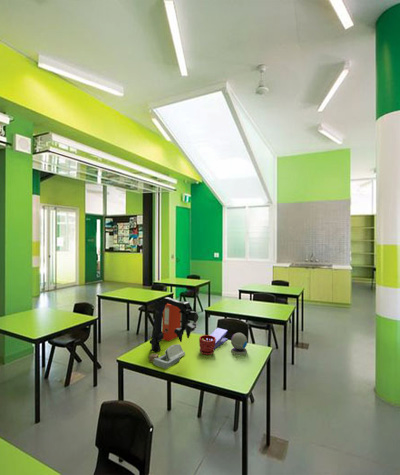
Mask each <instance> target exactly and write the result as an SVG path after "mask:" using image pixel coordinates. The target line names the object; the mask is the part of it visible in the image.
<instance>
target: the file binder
mask: <svg viewBox="0 0 400 475" xmlns="http://www.w3.org/2000/svg"><path fill="white" fill-rule="evenodd" d="M179 311H180V309H179V308H178V307H176V306H173V305H170V304H168V303H167V304H166V305H165V309H164V311H163V313H162V327H161V331H162V333H164V335H163V336H164V338H163V339H162V340H163V341H168V342H171V341H172V340H174V339H176V338H178V336H177V334H175V333H174V330H175V329H177V328H180V326H181V322H180V320H181V313H179ZM180 329H181V328H180Z"/></svg>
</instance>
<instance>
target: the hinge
mask: <svg viewBox="0 0 400 475" xmlns="http://www.w3.org/2000/svg"><path fill="white" fill-rule="evenodd" d="M164 355H166V360H165V361H166V362H168V361H170V360H171V359H173V358H175V357H177V356H180V358H181V357H183V356H185V355H186V352H185V351H184V350H183V347H182V346H181V344H178V343H177V344H172V345H170V346H168V347H167V348H166V349H165V351H164Z"/></svg>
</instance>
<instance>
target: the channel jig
mask: <svg viewBox="0 0 400 475" xmlns="http://www.w3.org/2000/svg"><path fill="white" fill-rule="evenodd" d="M180 361H181V357H180V356H177V357H175V358H173V359H171V360H168V361H167V360H166V355H165V354H163V355H161V356H159V358H155V359H154V362H153V365H154V366H156V367H160V368H163V369H165V370H166V369H169V368H170V367H172V366H173V365H175V364H176V363H178V362H180Z"/></svg>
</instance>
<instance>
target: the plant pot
mask: <svg viewBox="0 0 400 475" xmlns="http://www.w3.org/2000/svg"><path fill="white" fill-rule="evenodd" d="M210 335H211V334H203V335H200V336H199V339H198V340H199V341H198V344H199V353H200V354H201V355H205V356H206V355H207V356H208V355H213V354H214V353H215V349H214V347H215V343H216V338H215V337H213V336H210ZM207 338H208V340H207ZM209 339H210V340H209ZM211 339H212V340H213V341H211ZM204 340H205V341H204Z"/></svg>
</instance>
